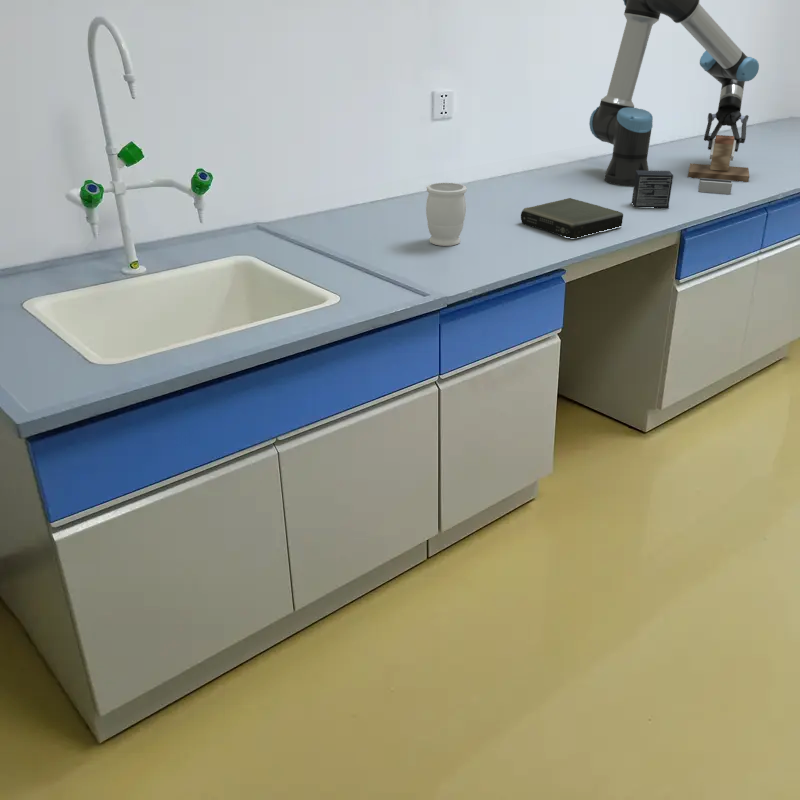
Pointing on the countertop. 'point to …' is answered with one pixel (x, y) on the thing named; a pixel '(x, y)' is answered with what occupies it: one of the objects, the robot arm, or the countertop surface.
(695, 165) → the walnut board
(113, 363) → the countertop surface
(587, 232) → the network switch
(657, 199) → the small box
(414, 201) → the countertop surface
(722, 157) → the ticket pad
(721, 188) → the frame
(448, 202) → the jar
